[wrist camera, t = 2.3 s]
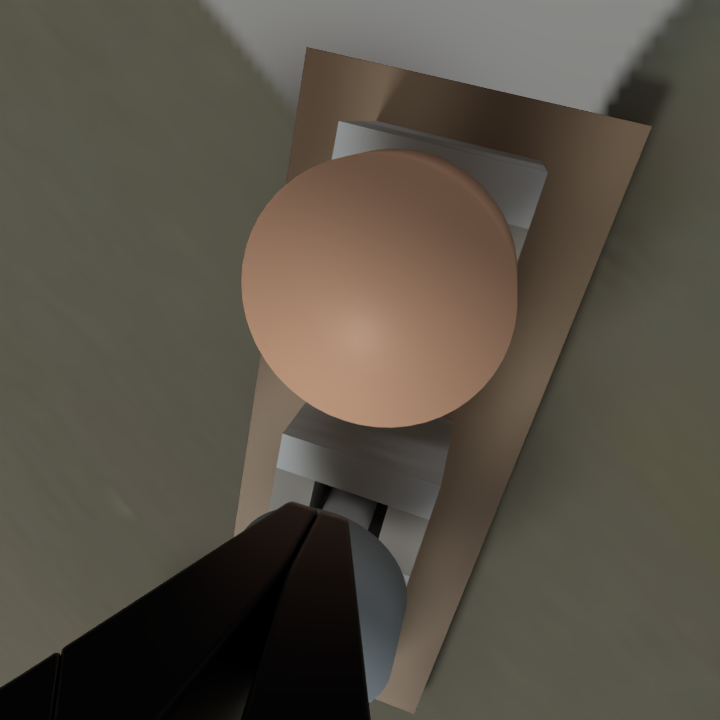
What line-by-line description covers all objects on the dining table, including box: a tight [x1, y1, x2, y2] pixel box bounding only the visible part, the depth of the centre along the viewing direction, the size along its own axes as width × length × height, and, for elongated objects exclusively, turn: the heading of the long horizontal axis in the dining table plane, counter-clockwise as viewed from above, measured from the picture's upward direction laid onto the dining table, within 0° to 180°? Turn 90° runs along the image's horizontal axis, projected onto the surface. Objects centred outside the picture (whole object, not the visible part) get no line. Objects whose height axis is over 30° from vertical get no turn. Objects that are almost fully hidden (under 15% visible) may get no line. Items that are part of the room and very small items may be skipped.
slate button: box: [245, 487, 407, 703], centre depth 17 cm, size 5×5×6 cm
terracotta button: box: [241, 148, 517, 428], centre depth 13 cm, size 5×5×6 cm
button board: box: [234, 47, 652, 714], centre depth 20 cm, size 10×26×5 cm, turn 169°
